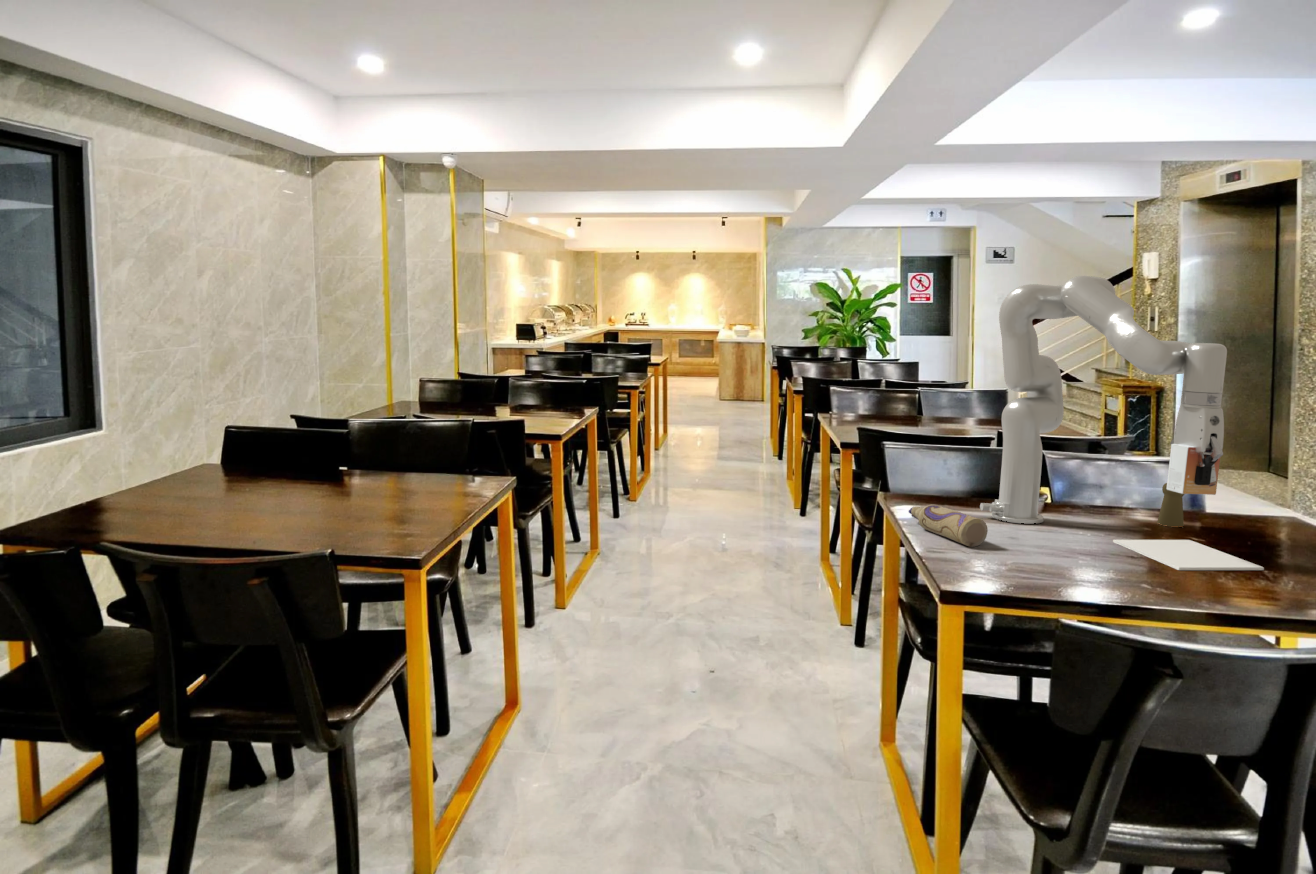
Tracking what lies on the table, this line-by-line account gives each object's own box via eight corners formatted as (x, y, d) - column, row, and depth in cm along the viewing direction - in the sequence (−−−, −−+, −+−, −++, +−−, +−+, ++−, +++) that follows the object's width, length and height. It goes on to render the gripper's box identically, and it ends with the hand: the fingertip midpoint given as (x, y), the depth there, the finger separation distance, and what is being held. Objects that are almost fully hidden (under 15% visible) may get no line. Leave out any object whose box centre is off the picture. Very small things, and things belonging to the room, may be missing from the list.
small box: (1182, 494, 192) (1187, 446, 190) (1165, 489, 197) (1170, 443, 196) (1217, 495, 192) (1222, 447, 191) (1199, 490, 198) (1204, 443, 196)
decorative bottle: (989, 546, 201) (991, 518, 200) (960, 548, 198) (962, 519, 197) (924, 520, 225) (925, 495, 224) (898, 522, 223) (899, 496, 222)
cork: (1180, 523, 229) (1185, 481, 227) (1186, 528, 223) (1190, 485, 221) (1154, 521, 230) (1158, 480, 229) (1159, 526, 225) (1163, 483, 223)
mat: (1178, 570, 184) (1179, 567, 184) (1113, 542, 207) (1113, 539, 207) (1263, 570, 186) (1263, 567, 186) (1189, 542, 209) (1189, 539, 209)
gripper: (1246, 404, 184) (1236, 489, 186) (1190, 396, 201) (1181, 475, 203) (1212, 403, 183) (1203, 489, 186) (1159, 396, 200) (1151, 474, 202)
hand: (1192, 481), depth 194 cm, fingers closed on small box, 5 cm apart
